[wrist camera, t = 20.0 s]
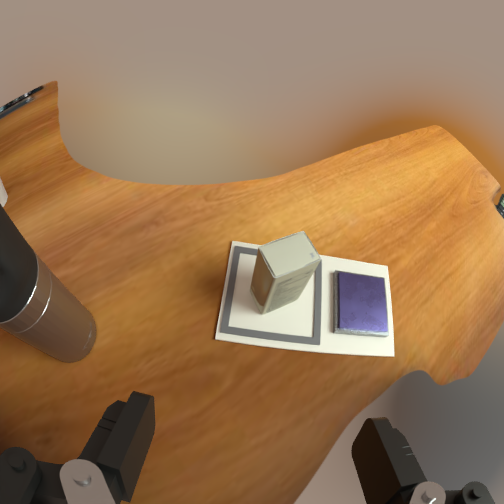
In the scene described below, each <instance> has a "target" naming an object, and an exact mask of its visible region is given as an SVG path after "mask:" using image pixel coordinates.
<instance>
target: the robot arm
mask: <svg viewBox="0 0 504 504" xmlns="http://www.w3.org/2000/svg"><path fill="white" fill-rule="evenodd" d="M0 328H2V329H3V330H5V331H7V332H9V333H10V334H12V335H14V336H15V337H17V338H19V339H20V340H22V341H24V342H26V343H28V344H29V345H31V346H33V347H35V348H37V349H39V350H41V351H42V352H44V353H46V354H48V355H50V356H52V357H54V358H56V359H58V360H60V361H63V362H68V363H71V362H76V361H79V360H81V359H82V358H84V357H85V356H86V355H87V354H88V353H89V352H90V350H91V349H92V347H93V345H94V342H95V338H96V325H95V321H94V319H93V316H92V315H91V313H90V312H89V311H88V310H87V309H86V308H85V307H84V306H83V305H82V304H81V303H80V302H79V301H78V300H77V299H76V297H75V296H74V295H73V294H72V293H71V292H70V291H69V290H68V289H67V288H66V287H65V286H64V285H63V284H62V283H61V282H60V280H59V279H58V278H57V277H56V276H55V275H54V274H53V273H52V271H51V270H50V269H49V268H48V267H47V266H46V265H45V263H44V262H43V261H42V260H41V259H40V258H39V256H38V255H37V254H36V253H35V252H34V250H33V249H32V248H31V247H30V245H29V244H28V243H27V242H26V240H25V239H24V238H23V236H22V235H21V233H20V232H19V231H18V229H17V228H16V226H15V225H14V223H13V222H12V221H11V219H10V218H9V216H8V215H7V213H6V212H5V210H4V209H3V207H2V205H1V204H0ZM154 430H155V409H154V397H153V396H151V395H147V394H143V393H140V392H136V391H133V392H132V393H131V395H130V397H129V399H128V401H127V403H126V402H122V401H119V400H117V401H116V402H115V403H113V404H112V405H110V406H109V407H107V409H106V411H105V413H104V414H103V416H102V419H100V421H99V423H98V425H97V427H96V428H95V430H94V432H93V433H92V435H91V437H90V439H89V440H88V442H87V444H86V446H85V447H84V449H83V451H82V453H81V455H80V456H79V457H78V458H77V459H75V460H71V461H68V462H67V463H65V464H53V463H47V462H42V461H37V460H35V458H34V456H33V455H32V454H31V453H30V452H29V451H27V450H26V449H23V448H20V447H12V448H8V449H6V450H5V451H4V452H3V453H2V454H1V456H0V504H120V502H121V500H123V501H126V502H130V501H131V498H132V495H133V492H134V489H135V486H136V484H137V481H138V478H139V475H140V472H141V469H142V466H143V464H144V461H145V458H146V455H147V452H148V449H149V447H150V444H151V441H152V438H153V435H154ZM352 458H353V461H354V464H355V467H356V470H357V474H358V477H359V480H360V483H361V487H362V490H363V493H364V496H365V500H366V503H367V504H495V503H494V501H493V499H492V497H491V495H490V493H489V491H488V490H487V487H486V486H485V485H483V484H482V483H480V482H470V483H468V484H466V485H465V487H464V488H463V489H462V490H455V491H444V489H443V488H442V487H441V486H440V485H439V484H437V483H434V482H428V481H427V480H426V478H425V476H424V474H423V472H422V470H421V467H420V466H419V463H418V462H417V460H416V458H415V456H414V455H413V452H412V450H411V448H410V447H409V444H408V442H407V440H406V438H405V436H404V435H403V434H402V433H400V432H399V431H398V430H397V429H393V428H392V426H391V424H390V422H389V420H388V419H387V418H385V417H382V418H368V419H367V420H366V421H365V422H364V424H363V426H362V428H361V430H360V432H359V433H358V435H357V437H356V439H355V441H354V442H353V445H352Z"/></svg>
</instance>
